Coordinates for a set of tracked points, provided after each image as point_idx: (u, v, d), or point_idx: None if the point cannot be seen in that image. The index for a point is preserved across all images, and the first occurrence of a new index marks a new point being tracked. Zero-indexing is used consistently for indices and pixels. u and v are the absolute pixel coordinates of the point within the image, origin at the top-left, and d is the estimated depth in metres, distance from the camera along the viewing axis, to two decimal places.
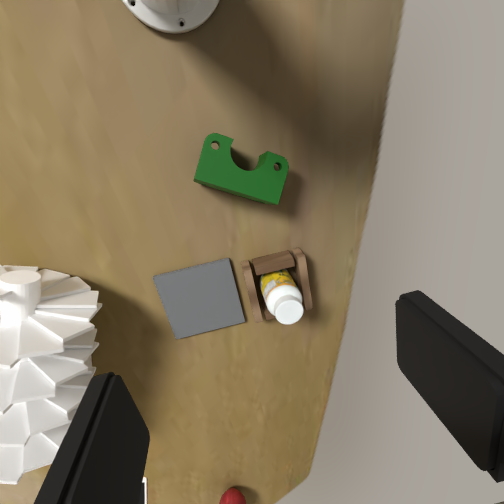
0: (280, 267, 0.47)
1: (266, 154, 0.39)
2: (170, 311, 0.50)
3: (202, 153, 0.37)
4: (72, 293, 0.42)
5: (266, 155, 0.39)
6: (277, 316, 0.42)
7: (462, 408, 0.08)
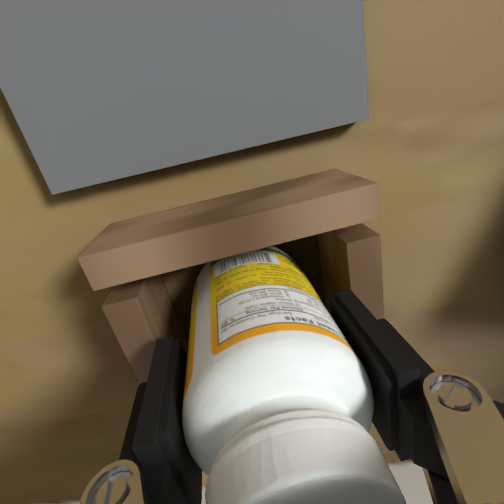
0: None
1: None
2: None
3: None
4: None
5: None
6: (290, 492, 0.05)
7: (373, 394, 0.09)
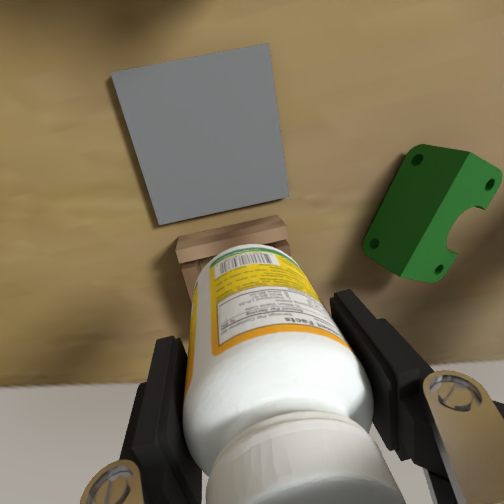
0: None
1: (451, 252, 0.29)
2: (187, 70, 0.23)
3: (489, 165, 0.25)
4: None
5: (451, 252, 0.29)
6: (291, 494, 0.05)
7: (373, 395, 0.09)
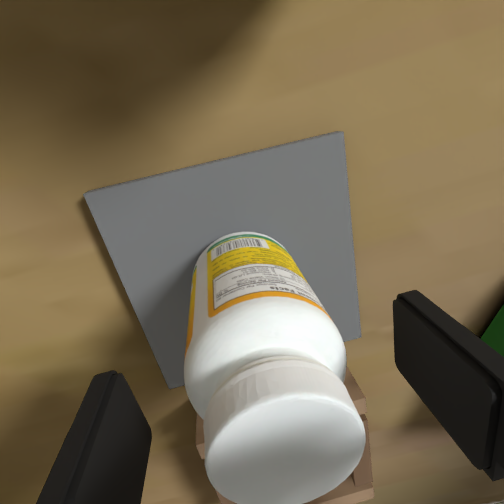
0: None
1: None
2: (210, 181, 0.14)
3: None
4: None
5: None
6: (269, 409, 0.07)
7: (458, 407, 0.08)
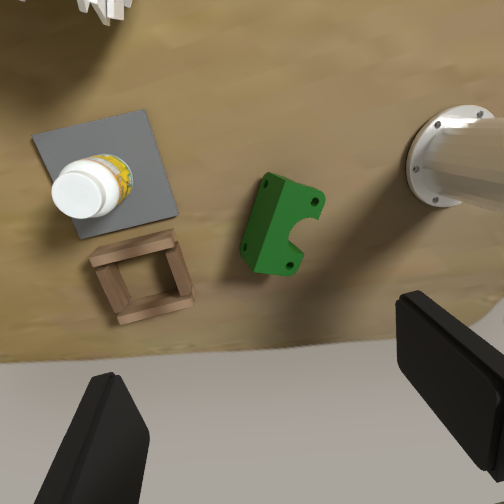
0: (178, 280, 0.38)
1: (300, 252, 0.38)
2: (86, 130, 0.33)
3: (308, 188, 0.34)
4: None
5: (299, 252, 0.38)
6: (65, 176, 0.25)
7: (462, 408, 0.08)
